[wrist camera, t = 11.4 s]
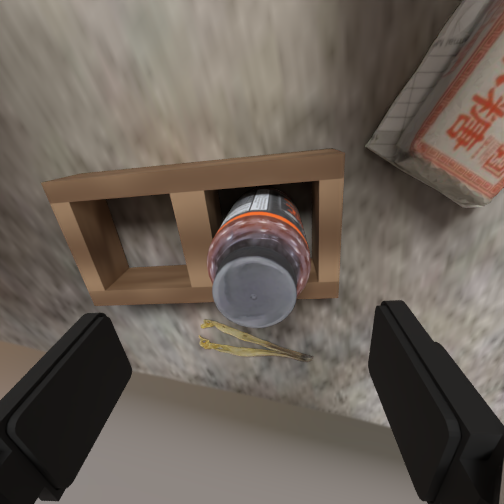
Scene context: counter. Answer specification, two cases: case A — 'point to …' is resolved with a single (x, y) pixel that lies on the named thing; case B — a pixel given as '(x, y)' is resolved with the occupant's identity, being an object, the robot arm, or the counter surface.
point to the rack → (191, 222)
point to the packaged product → (453, 110)
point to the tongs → (247, 337)
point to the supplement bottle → (259, 259)
